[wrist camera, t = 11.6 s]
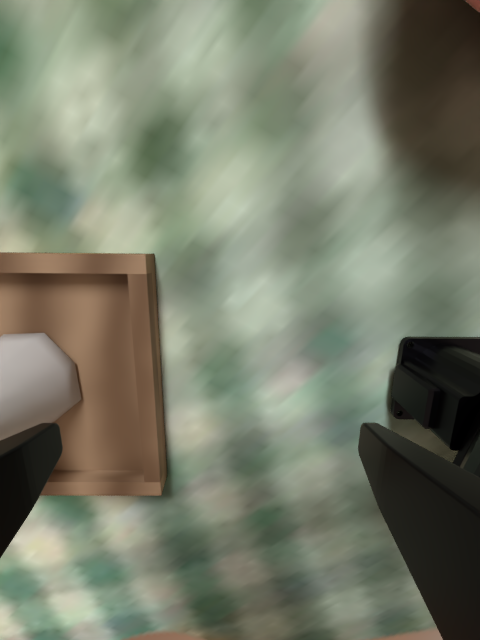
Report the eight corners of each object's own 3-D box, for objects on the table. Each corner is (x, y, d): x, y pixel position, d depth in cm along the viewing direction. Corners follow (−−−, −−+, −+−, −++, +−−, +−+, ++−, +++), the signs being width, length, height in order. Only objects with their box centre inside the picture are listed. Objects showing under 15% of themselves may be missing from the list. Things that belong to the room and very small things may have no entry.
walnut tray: (154, 253, 20) (145, 254, 18) (167, 475, 24) (161, 495, 22) (-111, 251, 20) (-149, 251, 18) (-52, 475, 24) (-77, 495, 22)
